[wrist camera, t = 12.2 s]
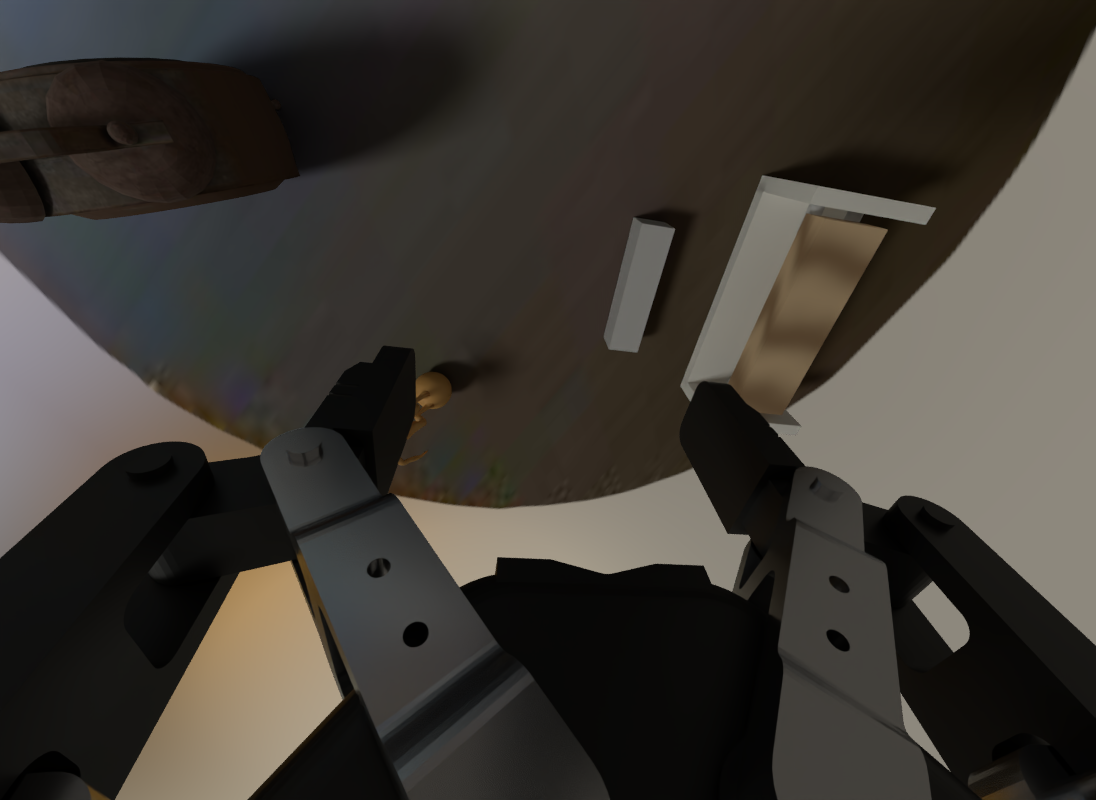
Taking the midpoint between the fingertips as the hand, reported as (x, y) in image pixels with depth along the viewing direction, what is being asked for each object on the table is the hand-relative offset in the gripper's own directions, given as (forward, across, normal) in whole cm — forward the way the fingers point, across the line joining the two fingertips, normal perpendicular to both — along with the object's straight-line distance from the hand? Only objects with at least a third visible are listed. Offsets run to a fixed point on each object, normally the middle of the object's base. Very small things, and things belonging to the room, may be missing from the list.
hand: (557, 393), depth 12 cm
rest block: (+30, -11, +5) cm, 32 cm away
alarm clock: (+30, +24, -2) cm, 39 cm away
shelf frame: (+30, -25, +5) cm, 39 cm away
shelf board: (+25, -25, +5) cm, 36 cm away
